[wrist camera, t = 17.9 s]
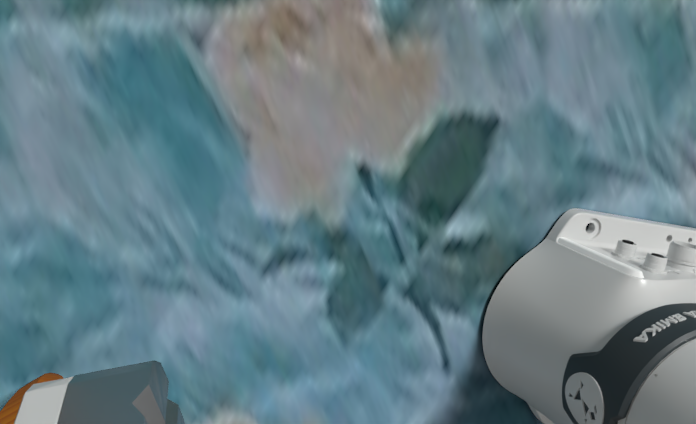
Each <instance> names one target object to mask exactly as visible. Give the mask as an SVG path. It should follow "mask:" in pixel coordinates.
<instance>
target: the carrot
mask: <svg viewBox="0 0 696 424" xmlns="http://www.w3.org/2000/svg"><path fill="white" fill-rule="evenodd" d="M58 379H64V378H63V377H62V376H60V375H59V374H55V373H47V374H44V375H42V376H40V377H39V378H37V379H35V380H33V381H31V382H30V383H28V384H27V385H25V386H24V387H22V388H21V389H19V390H18V391H17V392H16V393H15V394H14V396H13V397H12V398H11V399H10V400H9V401H8V402H7V404H6V405H5V406H4V408H3V409H2V410H1V411H0V424H14V421H15V419H16V416H17V413H18V410H19V407H20V404H21V401H22V398H23V395H24V394H25V392H26V391H27V390H28V389H29V388H30V387H31V386H32V385H33V384H36V383H42V382H47V381H53V380H58Z"/></svg>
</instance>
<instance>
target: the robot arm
mask: <svg viewBox="0 0 696 424" xmlns="http://www.w3.org/2000/svg"><path fill="white" fill-rule="evenodd" d="M588 224H589V227H588V229H587V230H586V226H587V225H588ZM482 343H483V351H484V356H485V360H486V362H487V365H488V367H489V370H490V371H491V373H492V375H493V376H494V378H495V379H496V380H497V381H498V382H499V383H500V384H501V385H502V386H503V387H504V388H505V389H507V390H508V391H510V392H511V393H513V394H515V395H517V396H518V397H520V398H521V399H523V400H524V401H526V402H527V404H528V405H529V407H530V409H531V411H532V412H533V414H534V415H535V416H536V418H537V419H538V420H540V421H541V422H542V423H544V424H696V228H690V227H684V226H679V225H673V224H667V223H661V222H655V221H649V220H643V219H637V218H632V217H626V216H620V215H614V214H608V213H602V212H596V211H590V210H585V209H578V208H573V209H570V210H568V211H566V212H565V213H564V214H563V215H562V216H561V217H560V218H559V220H558V221H557V222H556V224H555V225H554V227H553V228H552V230H551V231H550V233H549V234H548V236H547V237H546V238H545V239H544V240H543V241H542V242H541V243H540V244H539V245H538V246H537V247H535V248H534V249H532V250H531V251H530V252H528V253H527V254H526V255H524V256H523V257H522V258H521V259H520V260H519V261H518V262H517V263H515V264H514V266H513V267H512V268H511V269H510V270H509V271H508V272H507V273H506V275H505V276H504V277H503V279H502V280H501V282H500V283H499V285H498V286H497V288H496V290H495V292H494V294H493V296H492V298H491V300H490V302H489V305H488V308H487V311H486V315H485V319H484V324H483V334H482ZM168 383H169V381H168V378H167V376H166V374H165V372H164V370H163V367H162V365H161V363H160V362H157V361H149V362H144V363H139V364H133V365H128V366H123V367H117V368H112V369H107V370H101V371H96V372H91V373H85V374H80V375H75V376H74V377H69V378H64V379H58V380H53V381H47V382H42V383H36V384H33V385H32V386H31V387H30V388H29V389H28V390H27V391H26V392H25V394H24V395H23V398H22V401H21V404H20V407H19V410H18V413H17V416H16V419H15V421H14V424H185V423H184V419H183V416H182V413H181V411H180V408H179V405H177V404H176V403H174V402H172V401H170V400H168V399H167V395H168Z"/></svg>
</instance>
